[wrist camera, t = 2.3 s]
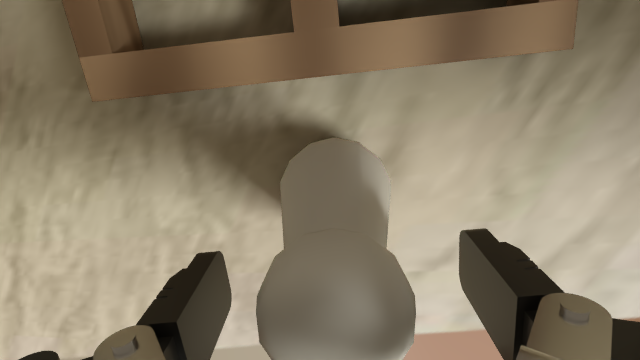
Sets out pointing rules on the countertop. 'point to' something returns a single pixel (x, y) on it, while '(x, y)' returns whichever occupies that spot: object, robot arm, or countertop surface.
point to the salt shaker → (335, 263)
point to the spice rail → (304, 45)
